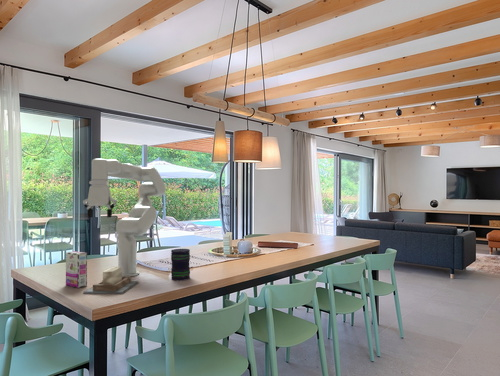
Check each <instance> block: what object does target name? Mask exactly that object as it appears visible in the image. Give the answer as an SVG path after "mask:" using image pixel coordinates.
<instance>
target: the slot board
mask: <svg viewBox="0 0 500 376" xmlns="http://www.w3.org/2000/svg"><path fill="white" fill-rule="evenodd" d="M139 283H140V281H139V280H132V276H130V277H122V280H121V281H119V282H118V283H116V284H103V279H101V280H100V281H98V282H96V283H94V284H92V287H89V288H87V289H86V290H84V291H83V294H85V295H87V294H88V295H91V294H93V295H96V294H97V295H124V293H126V292H127V291H129V290H130V289H132V288H134V287H135V286H136V285H137V284H139Z"/></svg>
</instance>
